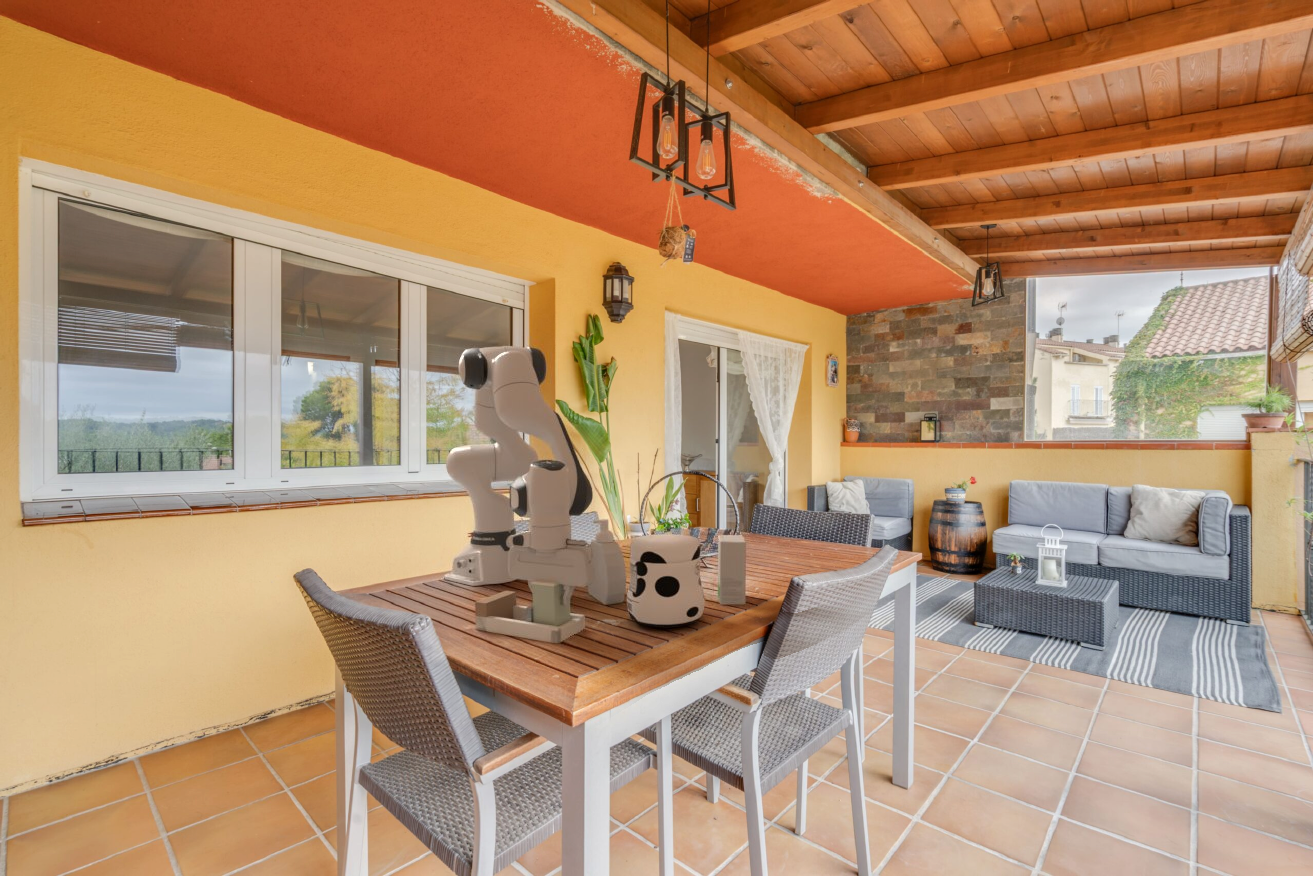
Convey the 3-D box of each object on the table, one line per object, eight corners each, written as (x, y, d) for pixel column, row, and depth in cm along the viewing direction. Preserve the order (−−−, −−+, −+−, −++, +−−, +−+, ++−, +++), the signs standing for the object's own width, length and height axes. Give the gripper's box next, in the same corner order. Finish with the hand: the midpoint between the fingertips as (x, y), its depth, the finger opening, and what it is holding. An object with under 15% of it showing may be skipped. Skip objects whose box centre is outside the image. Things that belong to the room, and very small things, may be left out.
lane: (475, 629, 132) (475, 601, 132) (506, 616, 141) (505, 590, 141) (557, 643, 123) (556, 613, 122) (584, 628, 131) (584, 601, 131)
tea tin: (532, 625, 128) (531, 581, 128) (549, 617, 133) (548, 575, 133) (555, 628, 125) (553, 583, 125) (571, 620, 130) (569, 577, 130)
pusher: (515, 631, 129) (515, 606, 129) (535, 622, 135) (535, 597, 135) (531, 634, 127) (531, 608, 127) (551, 625, 133) (550, 599, 133)
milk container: (718, 616, 139) (717, 537, 138) (679, 639, 124) (677, 550, 124) (655, 605, 148) (653, 531, 148) (611, 625, 134) (609, 543, 133)
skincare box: (717, 595, 156) (716, 534, 155) (743, 595, 155) (743, 534, 155) (719, 605, 147) (718, 540, 147) (747, 605, 147) (746, 540, 147)
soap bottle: (584, 592, 161) (583, 516, 161) (603, 589, 163) (602, 515, 163) (606, 608, 147) (605, 525, 146) (627, 605, 149) (625, 523, 149)
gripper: (600, 538, 127) (601, 604, 127) (521, 532, 136) (523, 594, 137) (583, 543, 121) (584, 613, 122) (502, 537, 131) (504, 601, 131)
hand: (551, 603), depth 129 cm, fingers closed on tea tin, 5 cm apart
